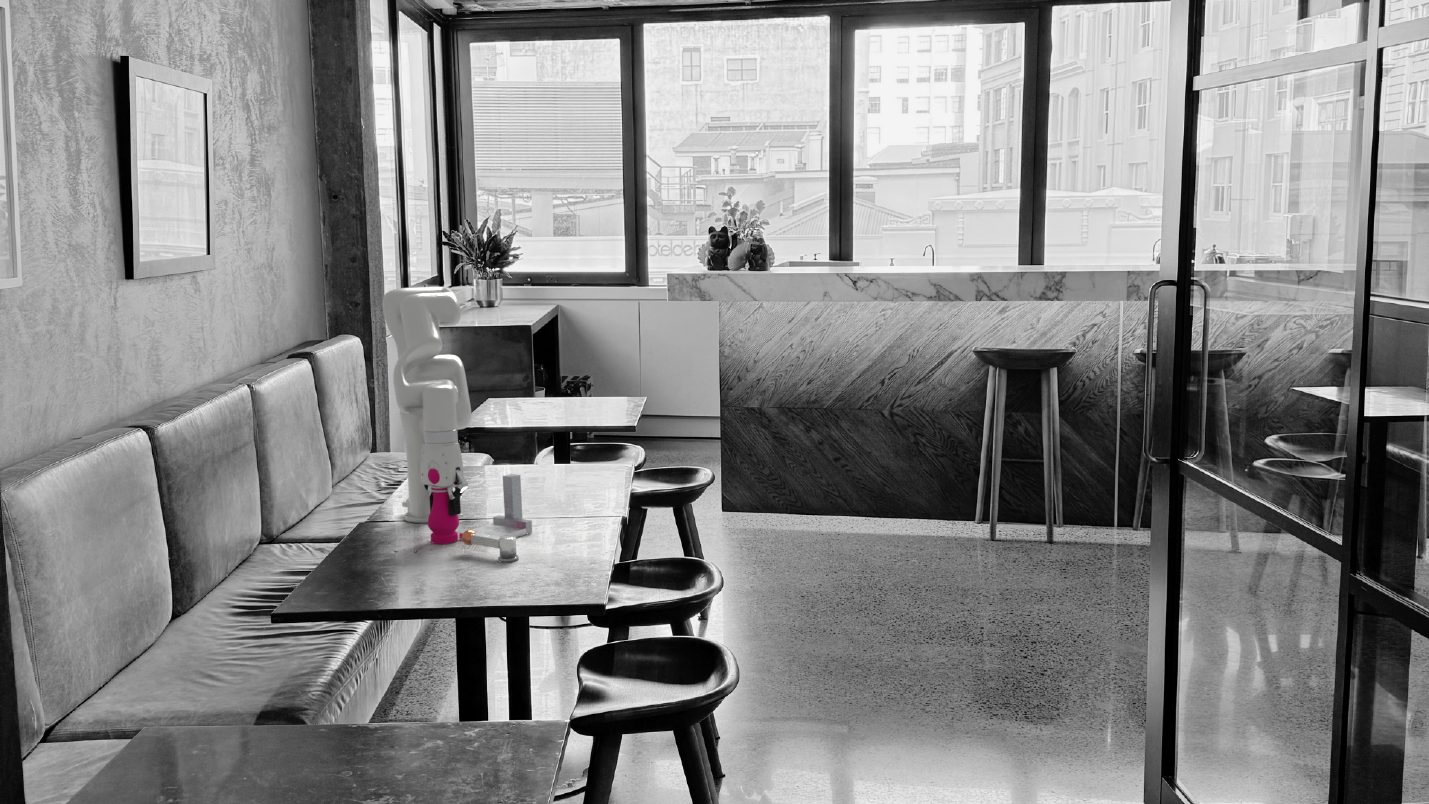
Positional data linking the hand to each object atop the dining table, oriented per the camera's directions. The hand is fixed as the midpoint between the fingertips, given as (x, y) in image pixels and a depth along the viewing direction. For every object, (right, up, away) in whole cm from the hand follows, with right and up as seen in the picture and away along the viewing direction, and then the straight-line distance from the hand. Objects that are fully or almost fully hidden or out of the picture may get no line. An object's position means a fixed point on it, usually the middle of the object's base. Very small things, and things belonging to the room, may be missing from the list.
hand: (445, 512), depth 275 cm
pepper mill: (0, -7, +1) cm, 7 cm away
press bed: (+15, -7, -3) cm, 17 cm away
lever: (+13, -8, -14) cm, 21 cm away
